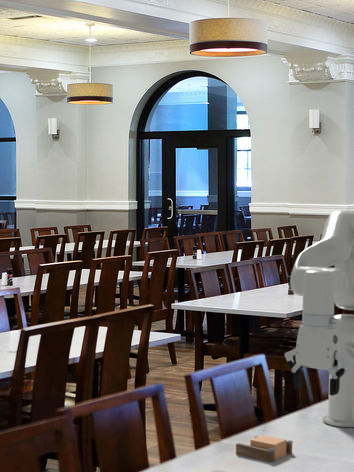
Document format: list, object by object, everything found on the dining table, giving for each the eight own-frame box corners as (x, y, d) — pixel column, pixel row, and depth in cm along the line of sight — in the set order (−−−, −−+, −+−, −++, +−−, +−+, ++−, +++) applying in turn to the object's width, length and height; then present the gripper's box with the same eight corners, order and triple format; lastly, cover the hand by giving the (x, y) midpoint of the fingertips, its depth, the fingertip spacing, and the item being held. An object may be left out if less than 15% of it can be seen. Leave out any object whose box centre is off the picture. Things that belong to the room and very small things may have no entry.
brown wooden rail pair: (257, 445, 224) (257, 433, 224) (292, 453, 218) (292, 440, 218) (235, 453, 216) (235, 441, 216) (271, 462, 210) (271, 449, 210)
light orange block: (262, 450, 221) (262, 434, 221) (286, 455, 217) (286, 439, 217) (250, 455, 216) (250, 439, 216) (274, 460, 212) (274, 444, 212)
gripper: (357, 323, 205) (355, 394, 205) (294, 316, 215) (292, 384, 216) (343, 326, 199) (341, 399, 199) (278, 319, 209) (277, 388, 210)
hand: (315, 391), depth 208 cm, fingers open, 9 cm apart
